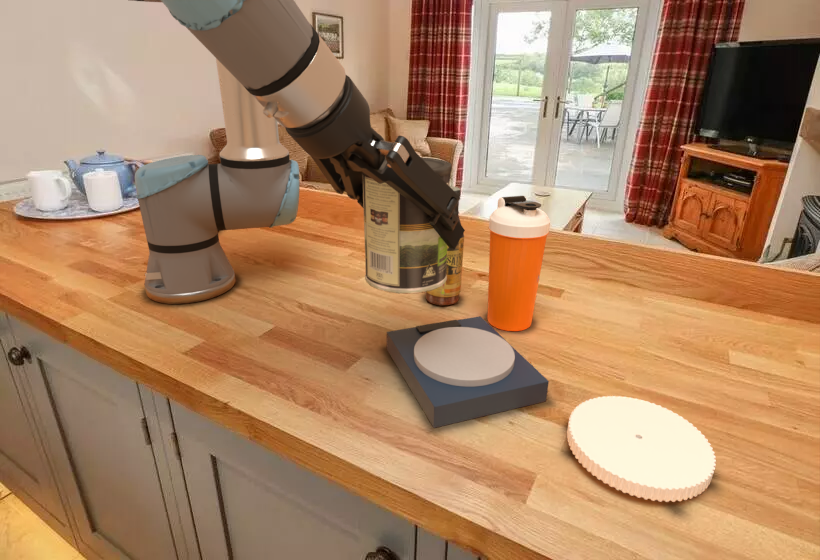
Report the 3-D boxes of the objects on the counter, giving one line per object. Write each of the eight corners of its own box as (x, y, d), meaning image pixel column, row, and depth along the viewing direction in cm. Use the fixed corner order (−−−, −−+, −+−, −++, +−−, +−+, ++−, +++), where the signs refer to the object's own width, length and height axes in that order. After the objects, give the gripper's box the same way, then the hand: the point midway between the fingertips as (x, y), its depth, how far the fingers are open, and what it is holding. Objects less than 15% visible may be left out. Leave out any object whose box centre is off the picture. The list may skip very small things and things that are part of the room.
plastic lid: (735, 467, 51) (742, 448, 50) (661, 535, 43) (668, 514, 42) (614, 399, 61) (618, 382, 60) (538, 443, 54) (541, 425, 53)
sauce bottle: (449, 310, 83) (455, 194, 75) (418, 301, 86) (420, 189, 78) (466, 296, 88) (473, 187, 80) (436, 289, 91) (440, 182, 83)
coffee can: (452, 266, 65) (457, 157, 59) (440, 298, 56) (444, 173, 50) (376, 259, 67) (375, 154, 61) (353, 290, 57) (348, 168, 52)
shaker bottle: (504, 339, 74) (516, 210, 66) (470, 315, 82) (478, 196, 74) (549, 327, 78) (566, 203, 70) (513, 304, 85) (525, 191, 77)
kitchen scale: (386, 349, 71) (386, 325, 70) (479, 333, 76) (480, 310, 74) (433, 428, 56) (434, 399, 54) (546, 401, 60) (550, 374, 59)
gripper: (224, 124, 50) (345, 236, 67) (385, 145, 36) (486, 279, 54) (263, 67, 52) (372, 191, 69) (431, 68, 38) (515, 222, 55)
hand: (422, 230), depth 61 cm, fingers closed on coffee can, 10 cm apart
